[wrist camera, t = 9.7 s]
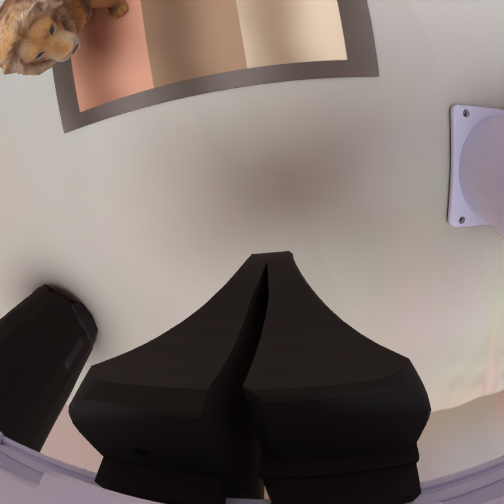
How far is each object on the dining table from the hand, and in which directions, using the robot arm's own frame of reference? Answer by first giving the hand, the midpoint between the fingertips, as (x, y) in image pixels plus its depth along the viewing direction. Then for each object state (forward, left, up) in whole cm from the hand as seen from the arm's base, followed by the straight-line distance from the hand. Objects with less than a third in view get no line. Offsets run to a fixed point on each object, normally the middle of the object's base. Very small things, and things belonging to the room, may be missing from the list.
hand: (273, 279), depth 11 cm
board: (+4, -15, -9) cm, 18 cm away
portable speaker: (+21, +9, -10) cm, 25 cm away
